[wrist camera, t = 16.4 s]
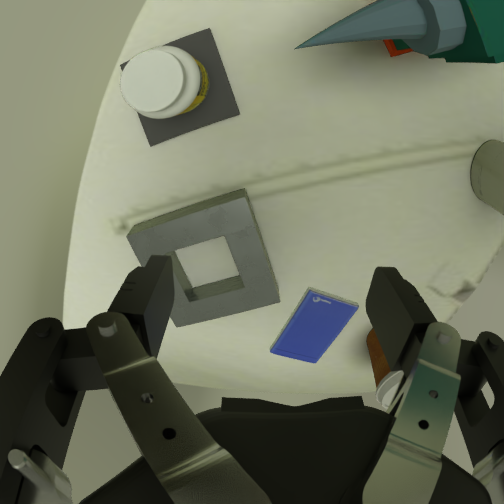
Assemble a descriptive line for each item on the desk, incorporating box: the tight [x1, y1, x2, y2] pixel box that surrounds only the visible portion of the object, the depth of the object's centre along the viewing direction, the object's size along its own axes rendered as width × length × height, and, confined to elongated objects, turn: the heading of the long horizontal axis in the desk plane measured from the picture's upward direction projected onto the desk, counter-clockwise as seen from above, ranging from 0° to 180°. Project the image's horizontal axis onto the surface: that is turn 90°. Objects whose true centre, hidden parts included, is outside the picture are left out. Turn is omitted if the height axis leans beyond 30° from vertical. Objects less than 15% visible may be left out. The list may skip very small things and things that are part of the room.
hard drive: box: [270, 287, 359, 363], centre depth 44 cm, size 2×8×12 cm
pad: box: [120, 28, 240, 147], centre depth 28 cm, size 10×10×1 cm
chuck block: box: [126, 188, 280, 327], centre depth 37 cm, size 14×14×3 cm
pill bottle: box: [120, 46, 209, 119], centre depth 23 cm, size 6×6×11 cm
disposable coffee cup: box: [367, 329, 404, 409], centre depth 41 cm, size 10×10×12 cm
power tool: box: [295, 0, 504, 63], centre depth 16 cm, size 32×7×20 cm, turn 117°
